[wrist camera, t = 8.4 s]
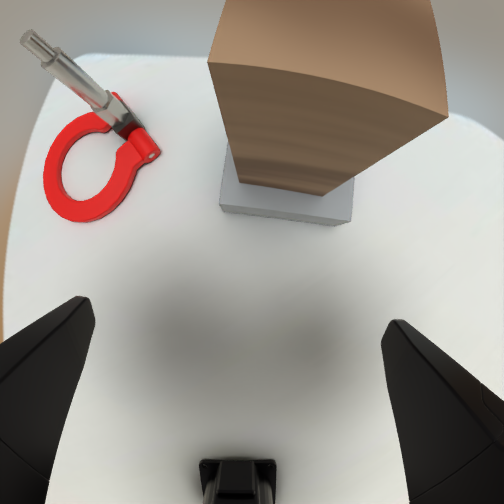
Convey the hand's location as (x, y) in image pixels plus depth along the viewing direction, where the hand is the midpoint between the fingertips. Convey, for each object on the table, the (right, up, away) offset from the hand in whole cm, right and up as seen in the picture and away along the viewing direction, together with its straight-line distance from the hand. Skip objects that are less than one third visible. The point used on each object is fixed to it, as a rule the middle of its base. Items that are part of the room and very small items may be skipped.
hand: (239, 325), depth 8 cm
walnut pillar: (+2, +8, +9) cm, 13 cm away
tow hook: (-12, +9, +13) cm, 20 cm away
